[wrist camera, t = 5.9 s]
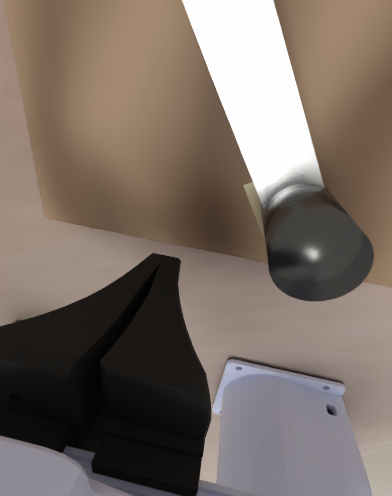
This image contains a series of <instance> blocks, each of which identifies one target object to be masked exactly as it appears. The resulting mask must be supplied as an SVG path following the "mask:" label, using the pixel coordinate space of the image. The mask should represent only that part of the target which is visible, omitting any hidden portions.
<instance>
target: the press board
mask: <svg viewBox="0 0 392 496" xmlns="http://www.w3.org/2000/svg"><path fill="white" fill-rule="evenodd" d="M273 1H274V5H275V8H276V12H277V16H278V19H279V23H280V27H281V30H282V34H283V38H284V41H285V45H286V49H287V52H288V56H289V60H290V63H291V67H292V71H293V74H294V78H295V82H296V85H297V89H298V93H299V96H300V100H301V104H302V107H303V111H304V115H305V118H306V122H307V125H308V129H309V133H310V136H311V140H312V144H313V147H314V151H315V155H316V158H317V162H318V166H319V169H320V173H321V177H322V180H323V184H324V185H325V186H326V187H327V189H328V190H329V191H330V192H331V193H332V195H333V196H334V197H335V198H336V199H337V201H338V202H339V203H340V204H341V206H342V207H343V208H344V209H345V210H346V212H347V213H348V214H349V215H350V216H351V218H352V219H353V220H354V221H355V223H356V224H357V225H358V226H359V227H360V229H361V230H362V231H363V232H364V233H365V235H366V236H367V237H368V238H369V240H370V242H371V244H372V247H373V251H374V261H373V265H372V268H371V270H370V272H369V274H368V276H367V277H366V278H365V280H364V281H363V282H368V283H373V284H378V285H383V286H388V287H392V0H273ZM4 3H5V9H6V14H7V19H8V25H9V30H10V35H11V41H12V46H13V51H14V57H15V62H16V67H17V73H18V78H19V83H20V89H21V94H22V100H23V105H24V110H25V116H26V121H27V126H28V132H29V137H30V142H31V148H32V153H33V158H34V164H35V169H36V174H37V180H38V185H39V190H40V196H41V201H42V206H43V212H44V217H45V218H47V219H52V220H57V221H62V222H67V223H72V224H77V225H82V226H87V227H92V228H97V229H102V230H107V231H112V232H117V233H122V234H127V235H132V236H137V237H142V238H147V239H152V240H157V241H162V242H167V243H172V244H177V245H182V246H187V247H192V248H197V249H202V250H207V251H212V252H217V253H222V254H227V255H232V256H237V257H242V258H247V259H252V260H257V261H262V262H267V263H268V258H267V251H266V244H265V236H264V229H263V222H262V214H261V201H260V198H259V196H258V193H257V190H256V188H255V185H254V183H253V180H252V178H251V175H250V173H249V170H248V167H247V165H246V162H245V160H244V157H243V155H242V152H241V150H240V147H239V144H238V142H237V139H236V137H235V134H234V132H233V129H232V127H231V124H230V121H229V119H228V116H227V114H226V111H225V109H224V106H223V104H222V101H221V98H220V96H219V93H218V91H217V88H216V86H215V83H214V81H213V78H212V75H211V73H210V70H209V68H208V65H207V63H206V60H205V58H204V55H203V52H202V50H201V47H200V45H199V42H198V40H197V37H196V35H195V32H194V29H193V27H192V24H191V22H190V19H189V17H188V14H187V12H186V9H185V6H184V4H183V1H182V0H4Z"/></svg>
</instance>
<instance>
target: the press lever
mask: <svg viewBox="0 0 392 496" xmlns="http://www.w3.org/2000/svg"><path fill="white" fill-rule="evenodd" d="M182 1H183V4H184V6H185V9H186V12H187V14H188V17H189V19H190V22H191V24H192V27H193V29H194V32H195V35H196V37H197V40H198V42H199V45H200V47H201V50H202V52H203V55H204V58H205V60H206V63H207V65H208V68H209V70H210V73H211V75H212V78H213V81H214V83H215V86H216V88H217V91H218V93H219V96H220V98H221V101H222V104H223V106H224V109H225V111H226V114H227V116H228V119H229V121H230V124H231V127H232V129H233V132H234V134H235V137H236V139H237V142H238V144H239V147H240V150H241V152H242V155H243V157H244V160H245V162H246V165H247V167H248V170H249V173H250V175H251V178H252V180H253V183H254V185H255V188H256V190H257V193H258V196H259V198H260V201H261V214H262V222H263V229H264V236H265V244H266V251H267V258H268V265H269V272H270V275H271V278H272V280H273V282H274V283H275V285H276V286H277V287H278V288H279V289H280V290H281V291H283V292H284V293H286V294H287V295H289V296H291V297H294V298H297V299H300V300H305V301H325V300H330V299H334V298H337V297H340V296H343V295H345V294H347V293H349V292H350V291H352V290H354V289H355V288H356V287H357V286H359V285H360V284H361V283H362V282H363V281H364V280H365V278H366V277H367V276H368V274H369V272H370V270H371V268H372V265H373V261H374V251H373V247H372V244H371V242H370V240H369V238H368V237H367V236H366V235H365V233H364V232H363V231H362V230H361V229H360V227H359V226H358V225H357V224H356V223H355V221H354V220H353V219H352V218H351V216H350V215H349V214H348V213H347V212H346V210H345V209H344V208H343V207H342V206H341V204H340V203H339V202H338V201H337V199H336V198H335V197H334V196H333V195H332V193H331V192H330V191H329V190H328V189H327V187H326V186H325V185H324V184H323V180H322V177H321V173H320V169H319V166H318V162H317V158H316V155H315V151H314V147H313V144H312V140H311V136H310V133H309V129H308V125H307V122H306V118H305V115H304V111H303V107H302V104H301V100H300V96H299V93H298V89H297V85H296V82H295V78H294V74H293V71H292V67H291V63H290V60H289V56H288V52H287V49H286V45H285V41H284V38H283V34H282V30H281V27H280V23H279V19H278V16H277V12H276V8H275V5H274V1H273V0H182Z"/></svg>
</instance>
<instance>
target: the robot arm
mask: <svg viewBox="0 0 392 496" xmlns="http://www.w3.org/2000/svg"><path fill="white" fill-rule="evenodd" d="M180 264H181V260H180V259H179V258H175V257H170V256H165V255H160V254H155V253H153V254H151V255H150V256H148V257H147V258H146V259H145V260H143V261H142V262H141V263H140V264H138V265H137V266H136V267H134V268H133V269H132V270H130V271H129V272H127V273H126V274H125V275H123V276H122V277H120V278H119V279H117V280H116V281H114V282H113V283H111V284H109V285H108V286H106V287H105V288H103V289H101V290H99V291H97V292H95V293H94V294H92V295H90V296H88V297H86V298H83V299H81V300H79V301H76V302H74V303H72V304H69V305H67V306H65V307H62V308H59V309H57V310H54V311H51V312H48V313H45V314H42V315H39V316H36V317H33V318H29V319H26V320H22V321H19V322H15V323H11V324H8V325H4V326H1V327H0V496H372V493H371V488H370V484H369V481H368V478H367V474H366V471H365V468H364V464H363V461H362V458H361V455H360V452H359V449H358V445H357V442H356V439H355V436H354V433H353V430H352V427H351V423H350V420H349V417H348V414H347V411H346V408H345V404H344V401H343V398H342V395H343V394H344V393H345V391H346V390H345V387H344V385H343V384H341V383H338V382H333V381H329V380H324V379H320V378H315V377H311V376H306V375H302V374H297V373H293V372H288V371H284V370H279V369H275V368H270V367H266V366H261V365H257V364H252V363H248V362H244V361H239V360H235V359H230V360H228V361H227V363H226V366H225V369H224V372H223V375H222V378H221V381H220V384H219V388H218V391H217V394H216V397H215V400H214V403H213V406H212V411H213V412H214V413H216V414H220V415H221V423H220V438H219V452H218V466H217V480H216V484H214V483H210V482H206V481H202V480H199V477H200V469H201V460H202V456H203V451H204V442H205V437H206V434H207V431H208V428H209V425H210V422H211V401H210V393H209V388H208V383H207V377H206V373H205V371H204V369H203V367H202V365H201V363H200V361H199V359H198V357H197V354H196V352H195V350H194V347H193V345H192V342H191V339H190V337H189V334H188V331H187V328H186V325H185V321H184V318H183V314H182V309H181V304H180V298H179V290H178V279H179V272H180Z"/></svg>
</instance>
